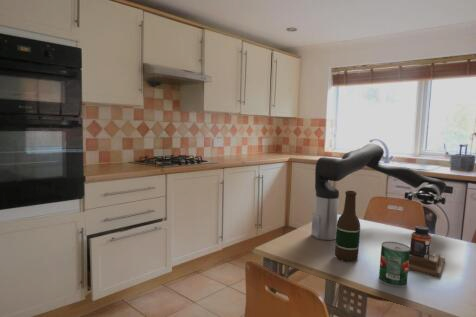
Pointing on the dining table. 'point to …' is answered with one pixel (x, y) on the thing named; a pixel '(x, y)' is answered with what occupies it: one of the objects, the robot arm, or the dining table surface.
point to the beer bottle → (348, 231)
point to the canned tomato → (394, 264)
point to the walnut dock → (427, 264)
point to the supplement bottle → (420, 242)
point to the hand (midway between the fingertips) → (422, 199)
